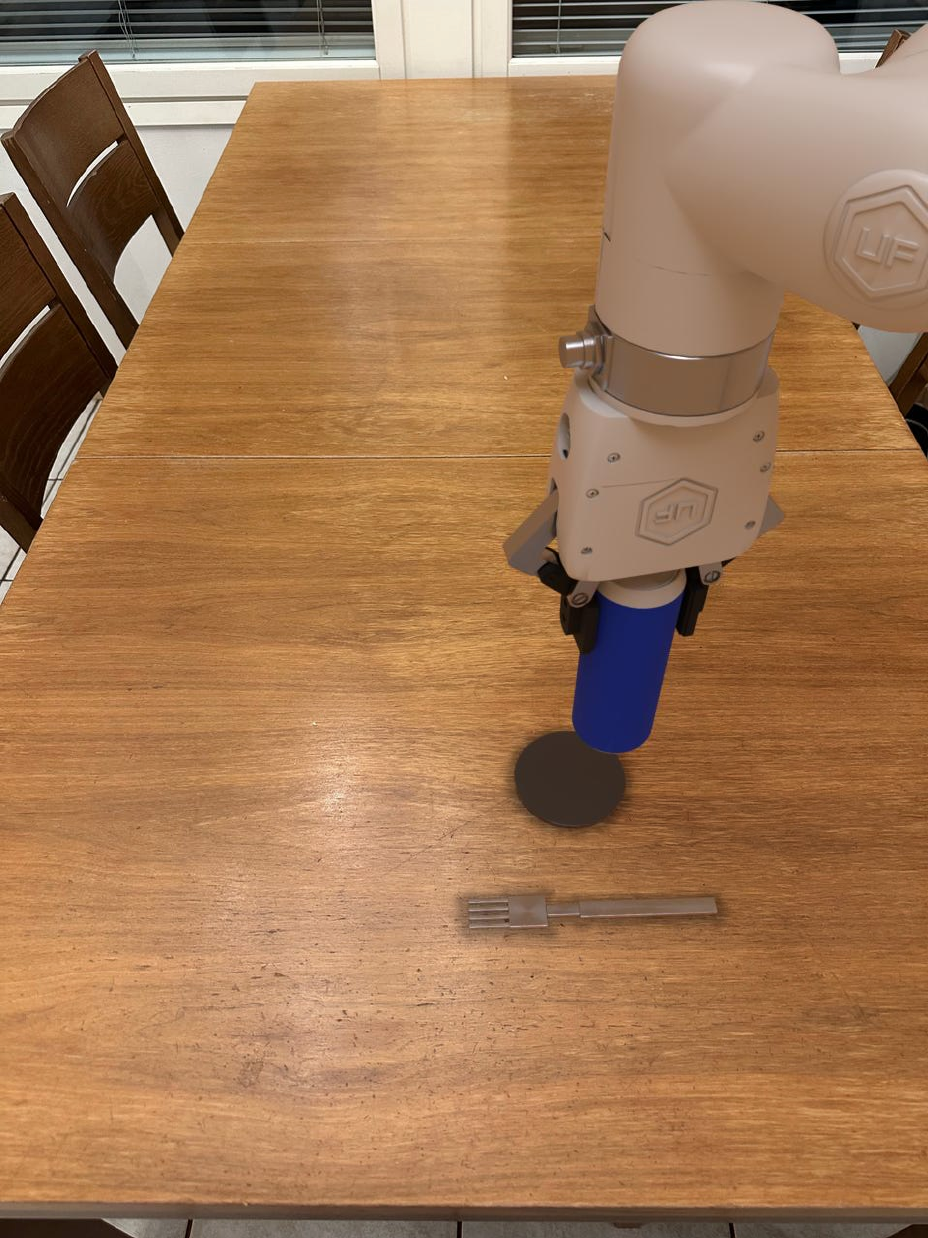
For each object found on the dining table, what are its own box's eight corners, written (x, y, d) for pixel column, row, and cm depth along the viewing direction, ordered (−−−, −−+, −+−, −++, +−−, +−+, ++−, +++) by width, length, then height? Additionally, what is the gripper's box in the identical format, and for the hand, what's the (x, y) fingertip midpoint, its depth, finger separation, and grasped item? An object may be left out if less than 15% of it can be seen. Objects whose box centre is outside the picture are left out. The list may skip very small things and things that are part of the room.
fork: (711, 891, 70) (712, 889, 70) (718, 922, 69) (719, 920, 68) (468, 899, 70) (468, 897, 70) (469, 930, 68) (469, 928, 68)
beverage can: (661, 709, 62) (700, 543, 51) (637, 770, 59) (673, 607, 48) (586, 684, 63) (609, 516, 52) (559, 742, 60) (577, 577, 49)
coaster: (641, 759, 78) (642, 757, 78) (598, 847, 73) (599, 844, 72) (542, 718, 81) (543, 715, 81) (494, 799, 76) (494, 796, 75)
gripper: (505, 426, 37) (498, 705, 50) (905, 369, 39) (796, 650, 53) (464, 326, 42) (468, 604, 55) (822, 280, 44) (742, 558, 58)
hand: (628, 624), depth 54 cm, fingers closed on beverage can, 5 cm apart
